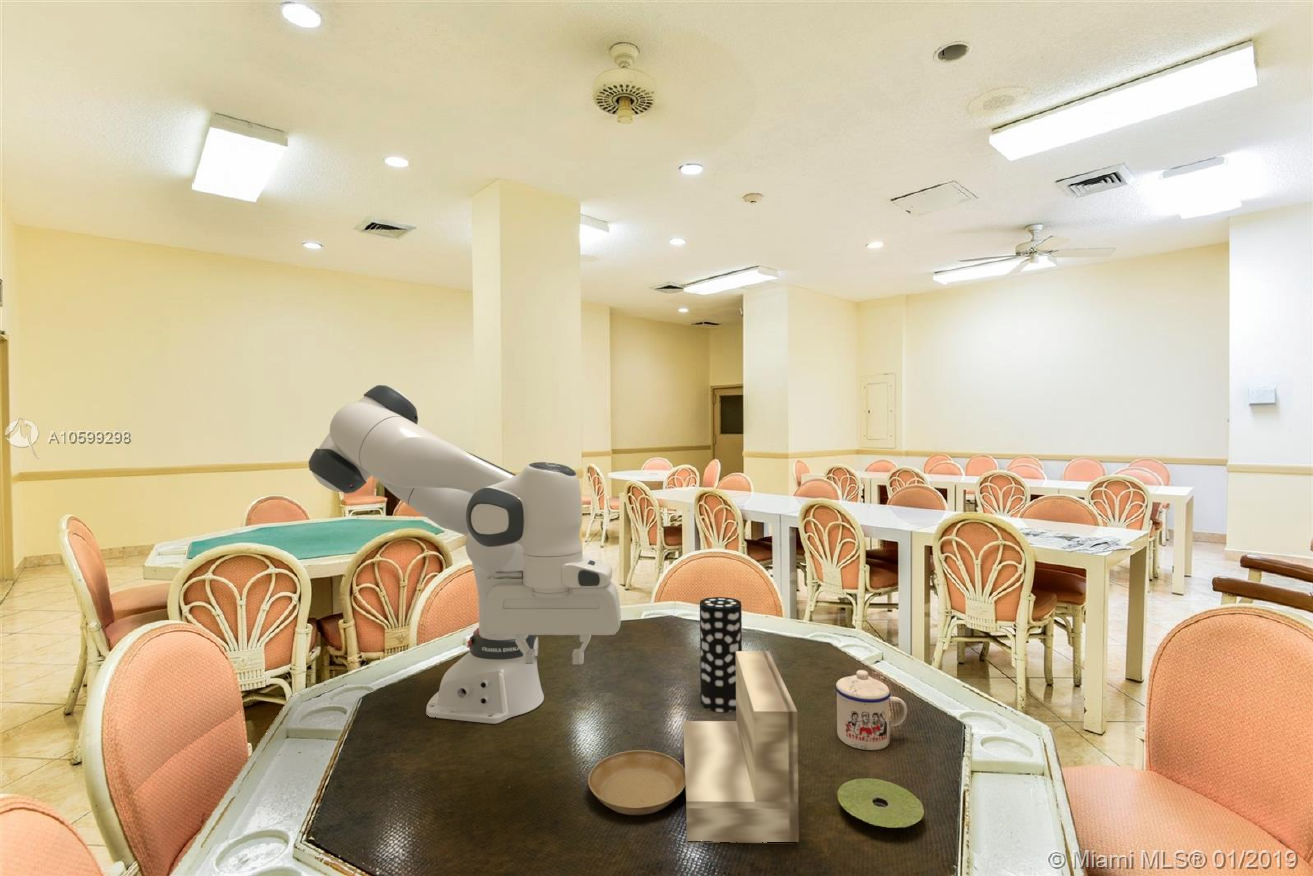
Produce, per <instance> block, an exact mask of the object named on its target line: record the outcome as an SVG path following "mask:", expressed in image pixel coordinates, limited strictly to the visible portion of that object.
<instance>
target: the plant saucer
mask: <svg viewBox="0 0 1313 876" xmlns="http://www.w3.org/2000/svg"><path fill="white" fill-rule="evenodd" d="M587 783H588V787H589V789H590V791H591V792H592V793H593V795H594V796H595V797H596V799H597V800H598V801H599V802H600V803H602V804H603V805H604V806H605V807H607V808H609V809H610V810H612V811H614V812H616V813H619V814H624V815H627V816H644V815H649V814H654V813H656V812H659V811H661V810H663V809H665V808H666V807H668V806H669V805H670V804H671V803H672V802H674V801H675V800H676V799H677V798H678V797H679V796H680V795H681V793H682V792H683V790H685V788H686V783H685V766H683V764H682V763H680V762H679V761H678V760H676V759H675V758H674V757H672V756H670V755H667V754H665V753H662V752H659V751H654V750H647V749H646V750H644V749H643V750H641V749H640V750H639V749H636V750H628V751H627V750H626V751H622V752H621V751H620V752H617V753H614V754H611V755H609V756H607V757H605V758H603V759H601V760H599V761H598V762H597V763H596V764H595V765H594V766H592V769H591V770H590V772H589V774H588V780H587Z"/></svg>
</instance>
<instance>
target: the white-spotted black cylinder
mask: <svg viewBox="0 0 1313 876" xmlns="http://www.w3.org/2000/svg"><path fill="white" fill-rule="evenodd" d="M742 614H743V613H742V601H740V600H739V599H737V598H732V597H726V596H725V597H724V596H713V597H706V598H703V599H701V600H699V646H700V647H699V650H700V651H699V652H700V653H699V656H700V657H699V663H700V665H699V666H700V668H699V669H700V671H699V673H700V676H699V678H700V705H701V706H702V707H703V708H705V709H706V710H708V711H712V712H717V713H730V712H736V651H743V638H742V637H743V633H742V630H743V629H742V628H743V626H742V623H743V621H742V618H743V616H742Z"/></svg>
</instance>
